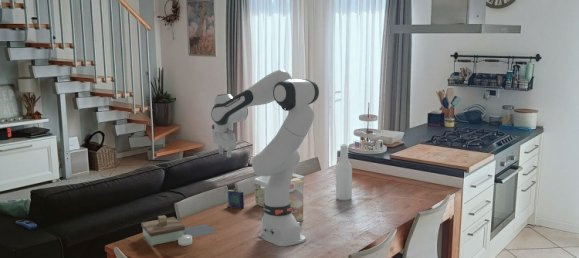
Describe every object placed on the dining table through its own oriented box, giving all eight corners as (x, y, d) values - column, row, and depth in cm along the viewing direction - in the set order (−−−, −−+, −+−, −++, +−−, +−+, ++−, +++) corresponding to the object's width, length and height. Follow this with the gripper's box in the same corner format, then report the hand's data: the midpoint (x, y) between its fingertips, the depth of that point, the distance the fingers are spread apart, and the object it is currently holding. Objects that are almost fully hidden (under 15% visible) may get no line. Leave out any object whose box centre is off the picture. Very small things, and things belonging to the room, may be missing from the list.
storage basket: (286, 196, 293) (286, 170, 291) (306, 202, 281) (306, 175, 279) (252, 204, 278) (251, 178, 276) (271, 212, 266) (270, 184, 264)
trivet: (217, 234, 235) (217, 232, 235) (189, 240, 229) (189, 237, 229) (206, 225, 247) (206, 223, 246) (180, 231, 240) (180, 228, 240)
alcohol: (351, 196, 291) (352, 143, 287) (351, 200, 283) (352, 146, 278) (335, 195, 292) (336, 143, 287) (335, 200, 284) (335, 146, 279)
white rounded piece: (194, 245, 222) (194, 238, 222) (180, 248, 219) (180, 240, 219) (189, 241, 228) (189, 233, 227) (176, 244, 225) (175, 236, 224)
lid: (184, 230, 227) (184, 218, 226) (150, 236, 220) (149, 224, 219) (174, 220, 240) (173, 209, 239) (141, 226, 233) (140, 214, 232)
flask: (227, 207, 275) (226, 187, 273) (230, 205, 277) (229, 185, 276) (242, 209, 271) (242, 189, 269) (245, 207, 273) (244, 187, 272)
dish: (183, 240, 228) (183, 229, 227) (151, 247, 221) (151, 236, 221) (173, 231, 240) (173, 220, 239) (143, 236, 233) (142, 226, 232)
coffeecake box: (273, 223, 249) (273, 184, 245) (270, 219, 255) (269, 180, 252) (303, 220, 252) (303, 181, 249) (299, 216, 259) (299, 177, 256)
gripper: (239, 129, 245) (239, 158, 247) (222, 123, 262) (222, 150, 265) (226, 130, 242) (227, 160, 244) (210, 125, 259) (211, 152, 262)
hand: (224, 155), depth 255 cm, fingers open, 8 cm apart
